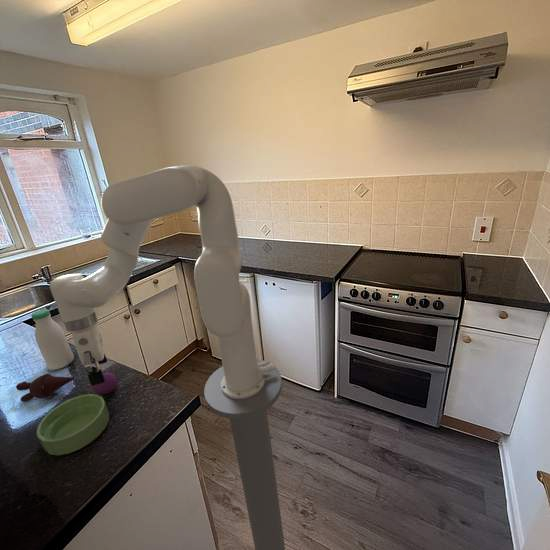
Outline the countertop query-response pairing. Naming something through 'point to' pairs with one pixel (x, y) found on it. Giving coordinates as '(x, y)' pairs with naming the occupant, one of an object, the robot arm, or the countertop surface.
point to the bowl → (73, 424)
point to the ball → (106, 384)
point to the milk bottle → (51, 341)
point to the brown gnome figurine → (42, 386)
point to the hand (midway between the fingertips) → (100, 372)
